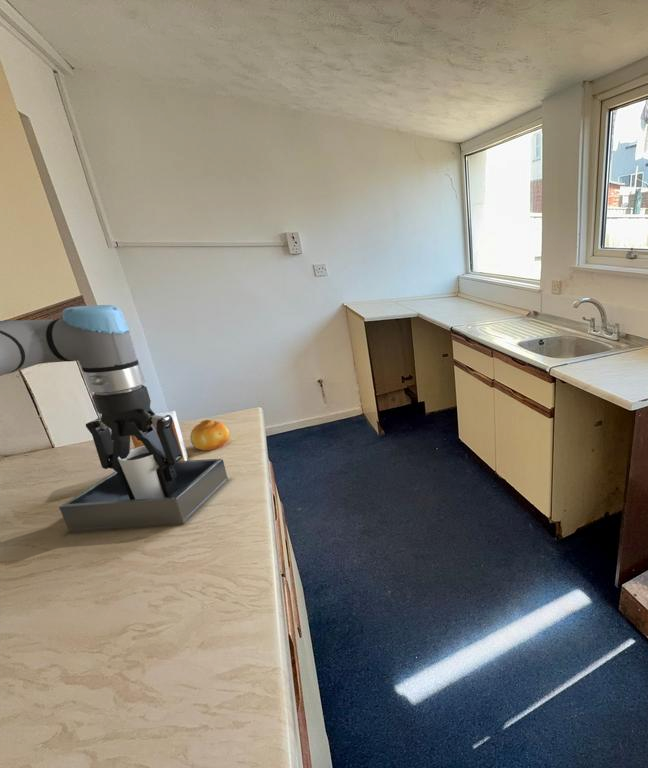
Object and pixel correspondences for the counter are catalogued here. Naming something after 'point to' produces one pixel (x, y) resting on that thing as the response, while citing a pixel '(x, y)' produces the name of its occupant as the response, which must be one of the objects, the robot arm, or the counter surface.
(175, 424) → the small box
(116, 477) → the tray
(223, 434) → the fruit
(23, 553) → the counter surface
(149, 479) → the white cup
